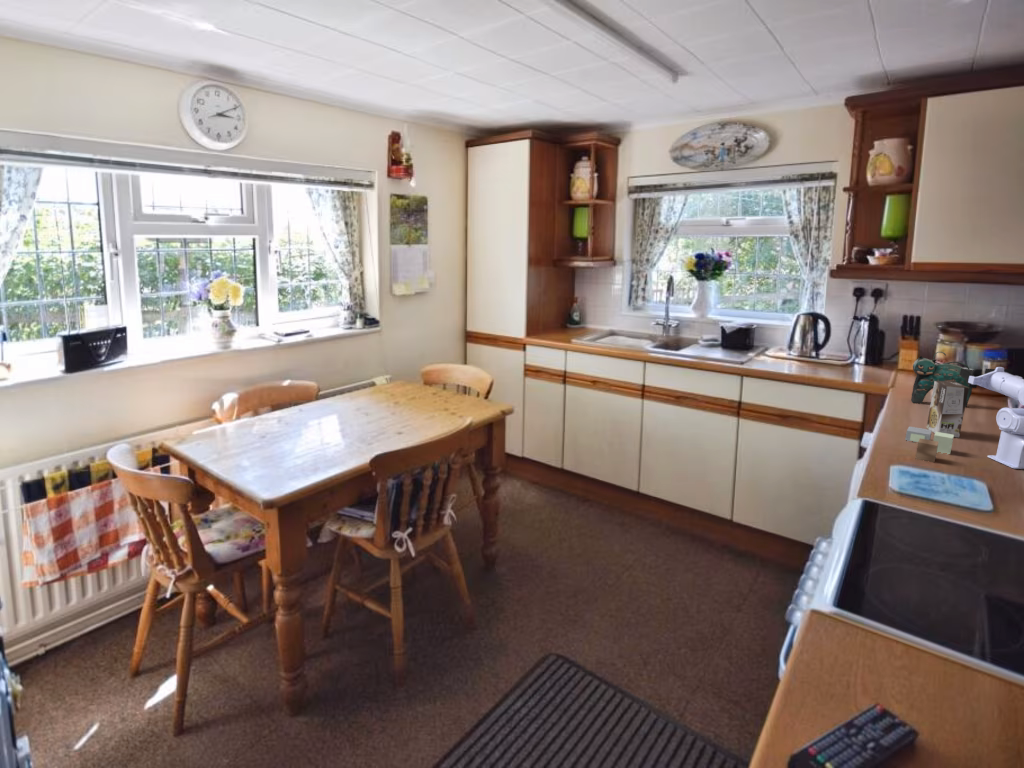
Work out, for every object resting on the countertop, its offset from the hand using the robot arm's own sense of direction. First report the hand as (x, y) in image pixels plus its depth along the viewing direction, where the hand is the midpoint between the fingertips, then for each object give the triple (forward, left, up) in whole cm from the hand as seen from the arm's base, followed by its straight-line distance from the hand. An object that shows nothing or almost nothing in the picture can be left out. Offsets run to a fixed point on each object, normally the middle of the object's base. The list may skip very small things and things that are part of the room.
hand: (973, 371), depth 191 cm
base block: (0, +14, -22) cm, 26 cm away
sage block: (-10, +13, -22) cm, 27 cm away
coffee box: (+8, 0, -22) cm, 23 cm away
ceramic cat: (+43, -24, -22) cm, 54 cm away
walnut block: (-16, +23, -22) cm, 35 cm away
